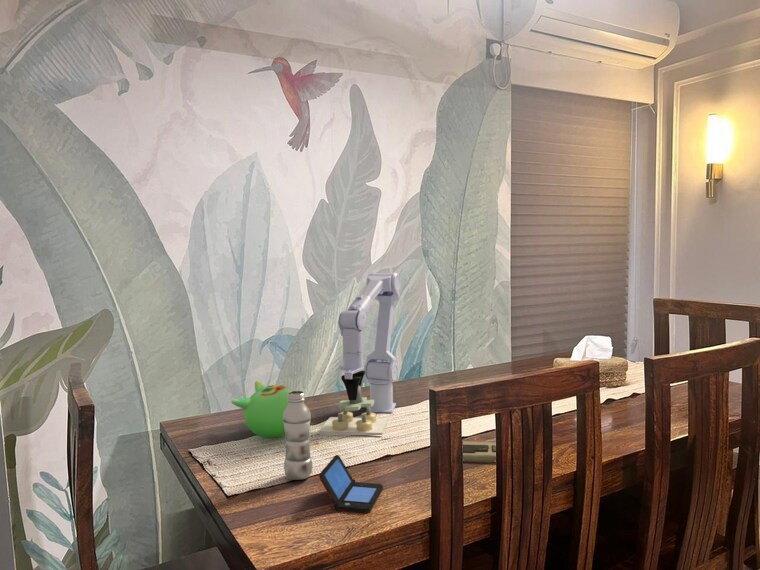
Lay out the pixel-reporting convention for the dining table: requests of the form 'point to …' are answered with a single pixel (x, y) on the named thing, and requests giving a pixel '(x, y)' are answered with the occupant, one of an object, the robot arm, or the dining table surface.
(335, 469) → the handheld game console
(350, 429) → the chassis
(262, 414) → the round green creature toy
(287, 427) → the plastic bottle
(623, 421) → the dining table surface
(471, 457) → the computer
